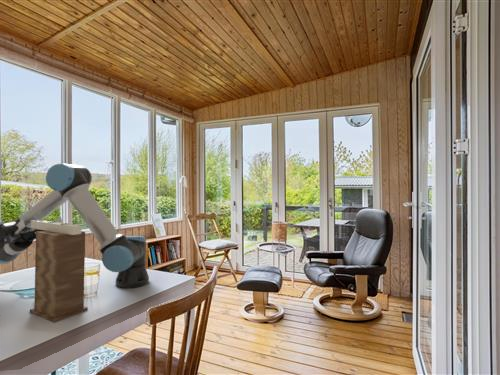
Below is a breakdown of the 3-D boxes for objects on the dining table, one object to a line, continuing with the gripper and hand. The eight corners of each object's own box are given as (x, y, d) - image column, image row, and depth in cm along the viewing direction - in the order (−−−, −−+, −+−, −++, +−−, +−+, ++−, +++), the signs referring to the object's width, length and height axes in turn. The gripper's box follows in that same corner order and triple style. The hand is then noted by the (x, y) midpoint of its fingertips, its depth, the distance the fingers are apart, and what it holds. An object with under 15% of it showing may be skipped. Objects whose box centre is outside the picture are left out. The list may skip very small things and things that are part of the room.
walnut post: (29, 312, 108) (31, 231, 108) (63, 301, 119) (64, 228, 119) (54, 322, 101) (56, 236, 101) (87, 310, 112) (89, 231, 111)
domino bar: (30, 228, 117) (31, 220, 117) (39, 227, 120) (39, 219, 120) (72, 234, 104) (73, 226, 104) (81, 233, 107) (81, 225, 107)
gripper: (52, 246, 134) (77, 226, 126) (-17, 257, 112) (7, 234, 104) (48, 231, 136) (72, 211, 127) (-21, 239, 114) (2, 215, 105)
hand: (43, 221), depth 115 cm, fingers open, 13 cm apart
